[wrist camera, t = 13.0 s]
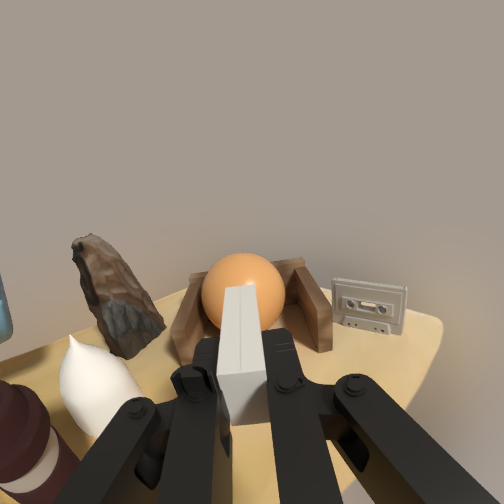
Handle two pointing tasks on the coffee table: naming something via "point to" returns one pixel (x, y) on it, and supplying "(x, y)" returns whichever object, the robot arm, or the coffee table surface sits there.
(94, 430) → the teardrop
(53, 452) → the coffee cup
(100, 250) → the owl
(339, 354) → the coffee table surface
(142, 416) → the robot arm
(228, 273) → the ball
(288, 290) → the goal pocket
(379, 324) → the cassette
